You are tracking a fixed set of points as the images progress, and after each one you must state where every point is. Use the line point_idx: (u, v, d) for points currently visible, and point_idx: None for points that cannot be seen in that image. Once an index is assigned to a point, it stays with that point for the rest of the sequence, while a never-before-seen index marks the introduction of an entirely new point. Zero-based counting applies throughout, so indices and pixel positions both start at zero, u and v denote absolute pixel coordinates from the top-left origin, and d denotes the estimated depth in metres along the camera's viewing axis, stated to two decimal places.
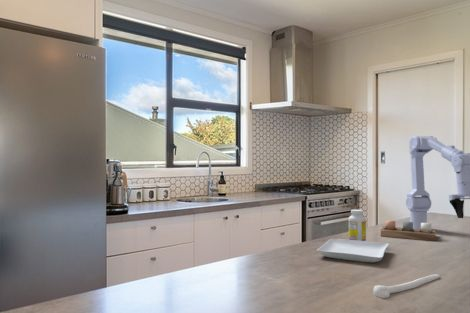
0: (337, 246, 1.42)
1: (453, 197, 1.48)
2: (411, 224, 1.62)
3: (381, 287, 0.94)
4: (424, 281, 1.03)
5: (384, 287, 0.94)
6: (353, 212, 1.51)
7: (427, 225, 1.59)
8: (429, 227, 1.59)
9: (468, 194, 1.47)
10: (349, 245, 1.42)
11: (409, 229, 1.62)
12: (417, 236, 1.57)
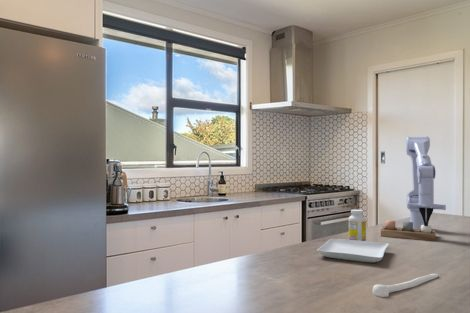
0: (337, 246, 1.42)
1: (408, 206, 1.63)
2: (411, 224, 1.62)
3: (380, 286, 0.94)
4: (423, 280, 1.03)
5: (383, 286, 0.94)
6: (353, 212, 1.51)
7: (427, 227, 1.59)
8: (429, 229, 1.59)
9: (422, 205, 1.59)
10: (349, 245, 1.42)
11: (409, 229, 1.62)
12: (417, 236, 1.57)
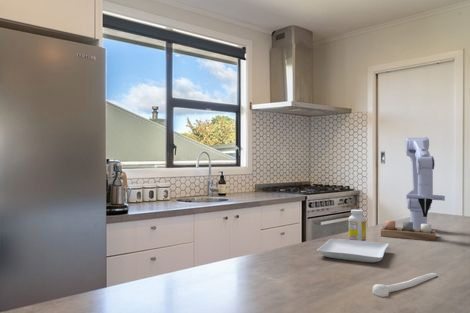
0: (337, 246, 1.42)
1: (407, 197, 1.63)
2: (411, 224, 1.62)
3: (380, 286, 0.94)
4: (422, 280, 1.04)
5: (383, 286, 0.94)
6: (353, 212, 1.51)
7: (427, 226, 1.59)
8: (429, 228, 1.59)
9: (421, 195, 1.59)
10: (349, 245, 1.42)
11: (409, 229, 1.62)
12: (417, 236, 1.57)
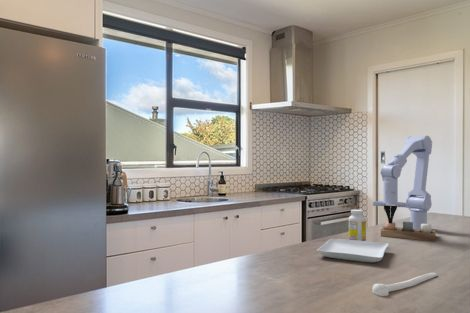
0: (337, 246, 1.42)
1: (373, 204, 1.69)
2: (411, 224, 1.62)
3: (380, 285, 0.95)
4: (422, 279, 1.04)
5: (383, 285, 0.95)
6: (353, 212, 1.51)
7: (427, 226, 1.59)
8: (429, 228, 1.59)
9: (386, 203, 1.65)
10: (349, 245, 1.42)
11: (409, 229, 1.62)
12: (417, 236, 1.57)
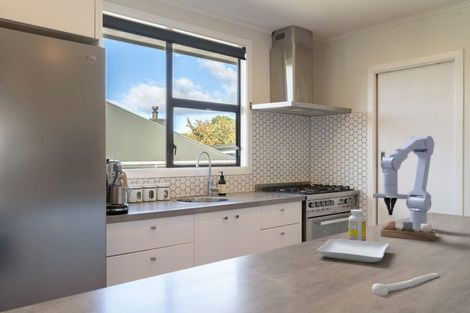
0: (337, 246, 1.42)
1: (374, 196, 1.69)
2: (411, 224, 1.62)
3: (379, 285, 0.95)
4: (423, 280, 1.04)
5: (382, 285, 0.95)
6: (353, 212, 1.51)
7: (427, 226, 1.59)
8: (429, 228, 1.59)
9: (386, 194, 1.65)
10: (349, 245, 1.42)
11: (409, 229, 1.62)
12: (417, 236, 1.57)
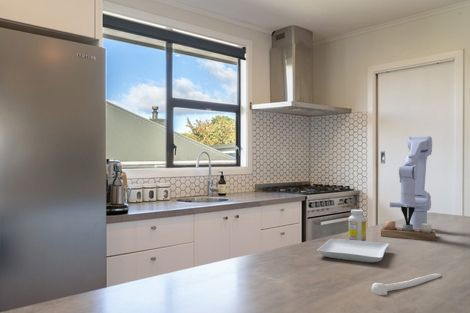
0: (337, 246, 1.42)
1: (390, 205, 1.66)
2: (411, 226, 1.62)
3: (379, 284, 0.95)
4: (424, 280, 1.04)
5: (382, 285, 0.96)
6: (353, 212, 1.51)
7: (427, 226, 1.59)
8: (429, 228, 1.59)
9: (404, 204, 1.62)
10: (349, 245, 1.42)
11: None
12: (417, 236, 1.57)
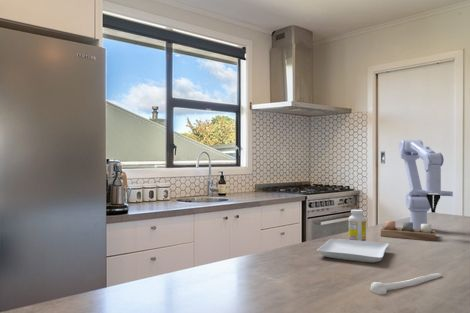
0: (337, 246, 1.42)
1: (415, 193, 1.65)
2: (411, 224, 1.62)
3: (378, 284, 0.96)
4: (424, 279, 1.04)
5: (381, 284, 0.96)
6: (353, 212, 1.51)
7: (427, 226, 1.59)
8: (429, 228, 1.59)
9: (429, 191, 1.62)
10: (349, 245, 1.42)
11: (409, 229, 1.62)
12: (417, 236, 1.57)
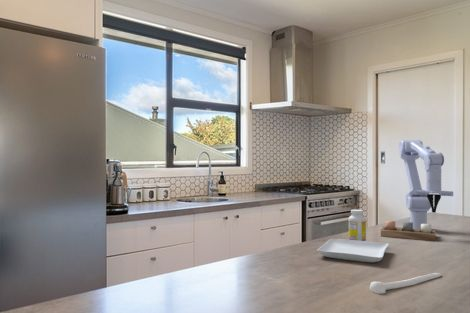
0: (337, 246, 1.42)
1: (416, 193, 1.65)
2: (411, 224, 1.62)
3: (377, 283, 0.96)
4: (423, 279, 1.04)
5: (380, 283, 0.96)
6: (353, 212, 1.51)
7: (427, 226, 1.59)
8: (429, 228, 1.59)
9: (430, 191, 1.62)
10: (349, 245, 1.42)
11: (409, 229, 1.62)
12: (417, 236, 1.57)
